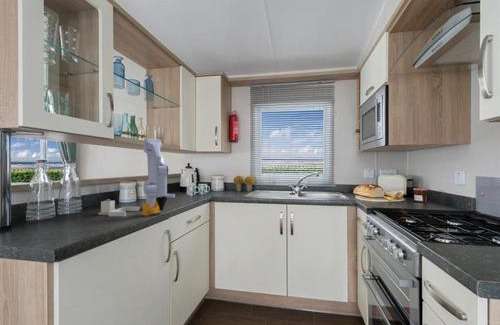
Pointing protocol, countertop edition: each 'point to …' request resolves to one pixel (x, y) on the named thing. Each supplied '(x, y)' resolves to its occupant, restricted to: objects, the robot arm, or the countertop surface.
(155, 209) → the pipe clamp
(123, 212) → the parts bay
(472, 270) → the countertop surface
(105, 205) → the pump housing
